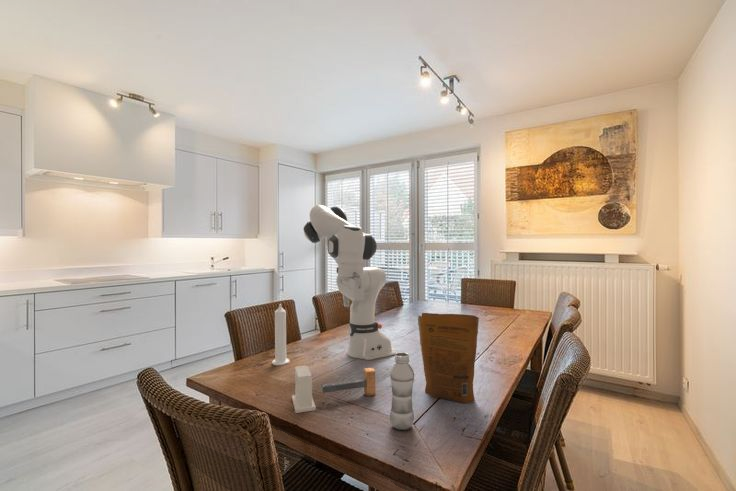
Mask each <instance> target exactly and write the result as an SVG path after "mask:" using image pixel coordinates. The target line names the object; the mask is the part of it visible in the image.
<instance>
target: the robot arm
mask: <svg viewBox="0 0 736 491" xmlns="http://www.w3.org/2000/svg"><path fill="white" fill-rule="evenodd" d="M347 217H348V215H347V213H346V211H345V210H344V209H343V208H341V207H340V206H339V205H335V206H331V207H330V208H329V207H328V206H327V205H324V204H317V205H315V206H313V207H312V208H311V209H310V211H309V220H310V221H307V222H306V224H305V225H304V226H303V234H304V236H305V238H306V239H307V240H308V241H309V242H311V243H312V244H317V243H319V242H321V241H322V240H324V239H325V243H326V246H327V254H329V256H330V257H331V258H332V259H334V261H335V263H336V264H337V267H336V273H337V276H336V279H335V281H336V286H337V288H338V292H339V293H340V294H342V299H343V300H342V301H343V306H344V307H345V308H349V313H350V314H349V315H350V316H349V322H348V324H349V325H348V334H349V340H348V341H349V342H348V347H347V350H346V355H347V356H348V357H350V358H353V359H354V358H356V359H363V360H366V361H370V360H375V359H380V358H385V357H390V356H391V357H392V356H395V354H396V353H397V350H396V348H395V347H393V346H392V341H391V339H390V338H389V337H388V336H387V335H386V334H385V333H383V332H382V331H380V330H379V329H382V328H383V324H381V323H380V322H376V321H375V320H376V319H375V318H376V317H375V315H376V314H375V312H376V310H375V309H376V303H377V299H378V296H379V293H380V292H381V290H382V288H384V287H385V285H386V283H387V275H386V272H385V270H384V269H383V268H381V267H376V266H365V267H364V261H365V260H366V261H367V260H368V261H369V260H370V259H371V258H373V257H374V255H375V254H376V252H377V250H378V249H377V245H378V244H377V241H376V239H375V237H373V236H372V235H371V234H370V233H365V232H364V231H363V228H362V227H361V226H359V225H354V224H353V223H351V222H349V221H348V218H347ZM350 301H351V304H350Z"/></svg>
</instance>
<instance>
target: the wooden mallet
mask: <svg viewBox="0 0 736 491" xmlns="http://www.w3.org/2000/svg"><path fill="white" fill-rule="evenodd" d="M361 388H363V393H364V394H365V395H366V397H369V396H374V395H376V370H375V369H374V367H368V368H367V367H366V368H363V378H359V379H353V380H352V379H351V380H343V381H339V382H329V383H323V384H321V393H322V394H327V393H333V392H340V391H341V392H342V391H348V390H355V389H361Z"/></svg>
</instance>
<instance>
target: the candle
mask: <svg viewBox="0 0 736 491" xmlns="http://www.w3.org/2000/svg"><path fill="white" fill-rule="evenodd" d="M274 353H275V354H274V355H275V356H274V357H275V358H274V359H273V360H272V361H271V363H272V365H273V366H284V365H285V366H286V365H288V364H289V363H290V359H289V358H288V357H287V312H286V310H285V309H284V308H283V307H282V303H279V305H278V308H277V309H276V310H275V311H274Z"/></svg>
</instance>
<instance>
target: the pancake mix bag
mask: <svg viewBox="0 0 736 491" xmlns="http://www.w3.org/2000/svg"><path fill="white" fill-rule="evenodd" d="M479 322H480V317H478V316H476V315H472V314H465V313H464V314H461V313H433V312H421V315H418V318H417V326H418V331H419V345H420V350H421V357H422V365H423V372H424V378H425V379H424V380H425V383H426V384H425V387H424V388H425V389H424V392H425V393H426V394H427V395H428V396H430V397H432V398H436V399H440V400H447V401H452V402H456V403H461V404H469V403H474V402H476V400H475V399H476V398H475V394H474V378H475V364H476V363H475V362H476V357H477V348H478V336H479V335H478V334H479Z"/></svg>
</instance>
